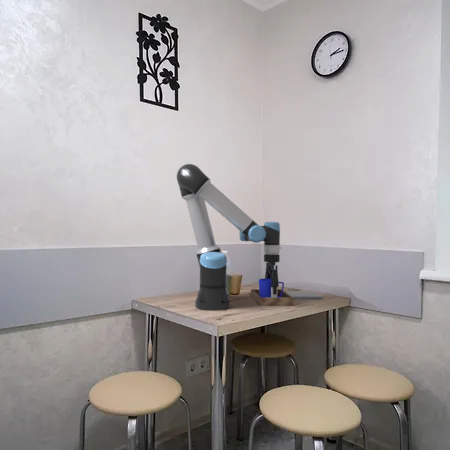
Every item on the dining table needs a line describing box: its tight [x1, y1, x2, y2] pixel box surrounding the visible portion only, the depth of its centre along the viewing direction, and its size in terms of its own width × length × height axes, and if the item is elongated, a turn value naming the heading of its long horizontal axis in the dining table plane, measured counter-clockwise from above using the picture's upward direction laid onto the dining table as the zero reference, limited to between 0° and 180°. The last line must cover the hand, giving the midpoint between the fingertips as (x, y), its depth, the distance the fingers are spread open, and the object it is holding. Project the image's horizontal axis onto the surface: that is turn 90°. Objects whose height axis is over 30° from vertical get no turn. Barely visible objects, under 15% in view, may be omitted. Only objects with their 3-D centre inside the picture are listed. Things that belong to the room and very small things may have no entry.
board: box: [285, 291, 323, 300], centre depth 187 cm, size 18×14×1 cm
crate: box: [250, 288, 295, 307], centre depth 174 cm, size 16×23×4 cm
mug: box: [258, 278, 285, 298], centre depth 174 cm, size 8×12×10 cm
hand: (271, 298), depth 174 cm, fingers open, 12 cm apart
